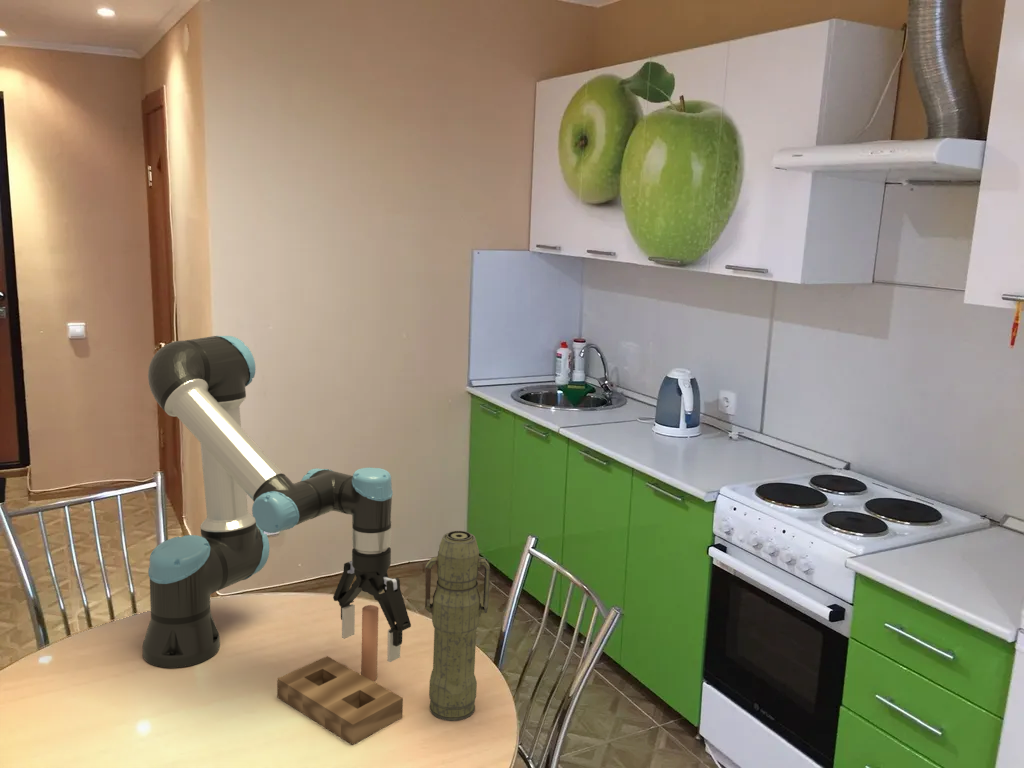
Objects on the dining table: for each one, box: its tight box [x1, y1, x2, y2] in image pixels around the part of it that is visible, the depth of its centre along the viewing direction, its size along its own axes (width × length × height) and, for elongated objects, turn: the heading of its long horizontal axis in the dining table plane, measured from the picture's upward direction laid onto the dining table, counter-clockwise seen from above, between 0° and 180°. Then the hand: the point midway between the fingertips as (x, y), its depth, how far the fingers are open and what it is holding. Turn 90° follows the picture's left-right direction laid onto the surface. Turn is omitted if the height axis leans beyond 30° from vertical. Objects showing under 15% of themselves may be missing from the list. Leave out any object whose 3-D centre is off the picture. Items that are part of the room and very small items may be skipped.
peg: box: [360, 604, 380, 682], centre depth 176 cm, size 3×3×15 cm
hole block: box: [276, 655, 404, 746], centre depth 166 cm, size 22×12×4 cm, turn 51°
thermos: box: [424, 530, 491, 722], centre depth 165 cm, size 9×12×35 cm
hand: (370, 647), depth 176 cm, fingers open, 13 cm apart
